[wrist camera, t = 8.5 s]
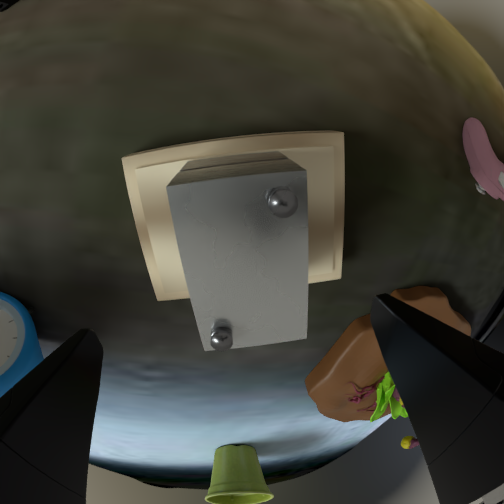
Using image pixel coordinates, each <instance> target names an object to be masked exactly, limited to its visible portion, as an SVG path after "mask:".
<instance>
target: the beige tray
mask: <svg viewBox="0 0 504 504" xmlns="http://www.w3.org/2000/svg"><path fill="white" fill-rule="evenodd" d="M271 151H279V152H280V153H282V154H283V155H285V156H286V157H288V159H291V160H292V161H294V162H295V163H297V164H298V165H300V166H301V167H302V168H304V169H305V170H307V193H308V283H315V282H321V281H328V280H335V279H341V269H342V254H343V235H344V204H345V157H344V132H338V131H332V130H330V131H296V132H279V133H265V134H253V135H243V136H234V137H225V138H217V139H210V140H203V141H196V142H190V143H183V144H178V145H172V146H166V147H161V148H156V149H151V150H146V151H141V152H136V153H132V154H130V155H127V156H125V157H123V158H122V163H123V168H124V173H125V179H126V183H127V188H128V193H129V198H130V202H131V207H132V211H133V215H134V219H135V223H136V227H137V231H138V235H139V239H140V243H141V247H142V250H143V254H144V258H145V261H146V265H147V268H148V271H149V275H150V278H151V281H152V285H153V288H154V291H155V294H156V297H157V300H158V301H163V300H174V299H184V298H190V296H189V292H188V288H187V284H186V280H185V275H184V271H183V267H182V263H181V258H180V254H179V249H178V245H177V240H176V235H175V231H174V226H173V221H172V216H171V211H170V206H169V201H168V195H167V190H166V186H167V185H168V184H169V183H170V181H171V180H172V179H173V178H174V177H175V175H176V174H177V173H178V172H180V170H181V168H182V167H183V166H184V165H185V164H186V163H187V162H188V161H193V160H200V159H207V158H215V157H222V156H231V155H239V154H249V153H259V152H271Z"/></svg>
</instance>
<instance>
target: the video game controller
mask: <svg viewBox="0 0 504 504" xmlns="http://www.w3.org/2000/svg"><path fill="white" fill-rule="evenodd" d="M462 136H463V146H464V150H465V154H466V157H467V160H468V163H469V165H470V172H471V174H472V175H473V177H474V178H475V179H476V181H477V182H478V183H475V186H476V188H477V190H478V191H479V192H480V193H482V194H486V193H485V191H486V192H487V193H488V194H490V195H491V196H492V197H493V198H495V199H498V198H501V199H502V200H503V201H504V164H503V163H502V162H501V161H499V160H498V158H497V157H496V155H495V153H494V151H493V149H492V147H491V145H490V142H489V139H488V136H487V133H486V131H485V128H484V127H483V125H482V124H481V122H480V121H479V120H478V119H476V118H469V119H467V120H466V121H465V123H464V126H463V134H462ZM484 190H485V191H484Z"/></svg>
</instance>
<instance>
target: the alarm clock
mask: <svg viewBox="0 0 504 504" xmlns="http://www.w3.org/2000/svg"><path fill="white" fill-rule="evenodd" d="M33 311H34V307H32V308H28V309H26V308H25V307H24V306H23V304H21V303H20V302H19V301H18V300H16V299H15V298H14V297H12V296H10V295H8V294H5V293H3V292H0V397H1V396H3V395H4V394H5V393H6V392H7V391H8V390H9V389H10V388H13V386H14V385H15V384H16V383H17V382H18V381H20V380H21V379H22V378H23V377H24V376H25V375H26V374H28V373H29V372H30V371H31V370H32V369H33V368H35V367H36V366H37V365H38V364H39V363H40V362H42V361H43V360H44V358H43V355H42V352H41V348H40V345H39V341H38V337H37V333H36V329H35V326H34V322H33V320H32V317H31V315H30V313H32V312H33Z"/></svg>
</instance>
